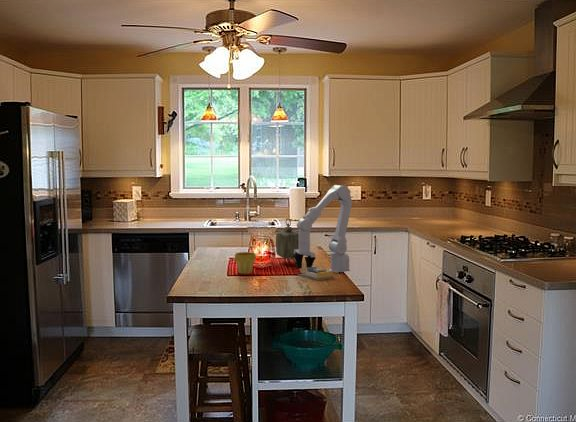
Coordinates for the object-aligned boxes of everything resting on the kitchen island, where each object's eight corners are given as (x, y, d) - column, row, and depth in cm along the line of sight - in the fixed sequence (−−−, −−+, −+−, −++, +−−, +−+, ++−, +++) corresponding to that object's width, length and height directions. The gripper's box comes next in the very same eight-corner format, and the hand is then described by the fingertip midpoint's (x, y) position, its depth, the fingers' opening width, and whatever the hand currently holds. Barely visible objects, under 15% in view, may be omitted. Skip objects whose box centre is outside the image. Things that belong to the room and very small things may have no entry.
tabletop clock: (300, 265, 292) (300, 219, 289) (284, 266, 288) (284, 220, 286) (290, 260, 305) (290, 217, 303) (275, 261, 302) (275, 217, 299)
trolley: (315, 272, 267) (315, 265, 267) (327, 275, 260) (327, 268, 260) (305, 274, 263) (305, 267, 263) (317, 277, 256) (317, 270, 256)
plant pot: (255, 270, 277) (255, 251, 276) (255, 274, 267) (255, 255, 266) (235, 270, 277) (235, 251, 276) (234, 274, 267) (234, 255, 266)
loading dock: (312, 272, 272) (312, 265, 272) (333, 277, 260) (333, 270, 259) (297, 274, 266) (297, 267, 266) (317, 280, 254) (317, 273, 253)
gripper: (289, 241, 272) (289, 268, 273) (307, 245, 260) (307, 272, 262) (300, 240, 276) (299, 266, 277) (318, 243, 265) (318, 271, 266)
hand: (304, 269), depth 270 cm, fingers open, 7 cm apart
